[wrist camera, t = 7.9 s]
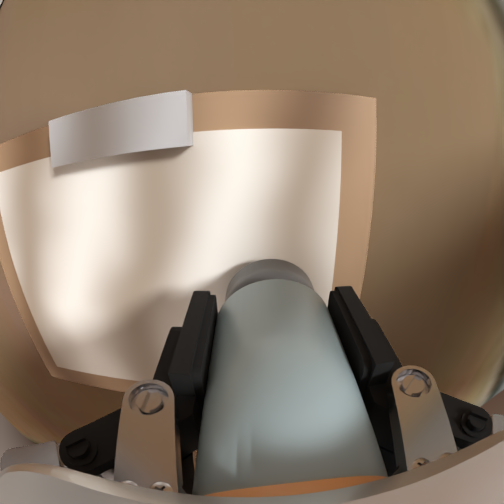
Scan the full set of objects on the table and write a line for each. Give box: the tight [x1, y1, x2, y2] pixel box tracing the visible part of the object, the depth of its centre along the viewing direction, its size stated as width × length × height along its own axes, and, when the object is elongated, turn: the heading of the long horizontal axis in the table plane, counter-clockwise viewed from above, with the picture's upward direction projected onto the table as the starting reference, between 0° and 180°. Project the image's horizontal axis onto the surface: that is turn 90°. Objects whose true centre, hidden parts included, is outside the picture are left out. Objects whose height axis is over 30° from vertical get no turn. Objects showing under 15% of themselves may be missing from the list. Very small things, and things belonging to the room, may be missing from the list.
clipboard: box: [0, 90, 376, 392], centre depth 12 cm, size 20×16×2 cm
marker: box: [192, 259, 388, 497], centre depth 7 cm, size 4×4×10 cm
